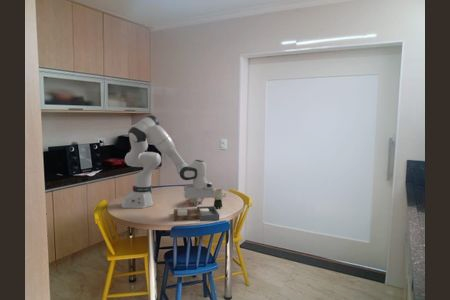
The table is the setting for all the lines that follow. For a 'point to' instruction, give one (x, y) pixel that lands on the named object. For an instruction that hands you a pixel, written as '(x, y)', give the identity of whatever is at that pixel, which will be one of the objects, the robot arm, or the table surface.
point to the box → (212, 214)
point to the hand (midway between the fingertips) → (199, 204)
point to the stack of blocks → (194, 201)
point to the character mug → (218, 197)
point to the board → (191, 215)
